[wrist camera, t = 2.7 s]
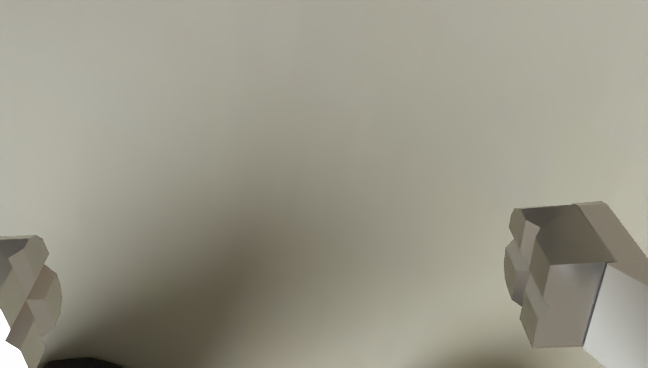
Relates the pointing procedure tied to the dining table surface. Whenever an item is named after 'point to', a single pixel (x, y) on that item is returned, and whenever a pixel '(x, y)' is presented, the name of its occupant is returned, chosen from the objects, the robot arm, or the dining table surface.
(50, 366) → the portable speaker
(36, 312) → the robot arm
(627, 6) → the dining table surface
